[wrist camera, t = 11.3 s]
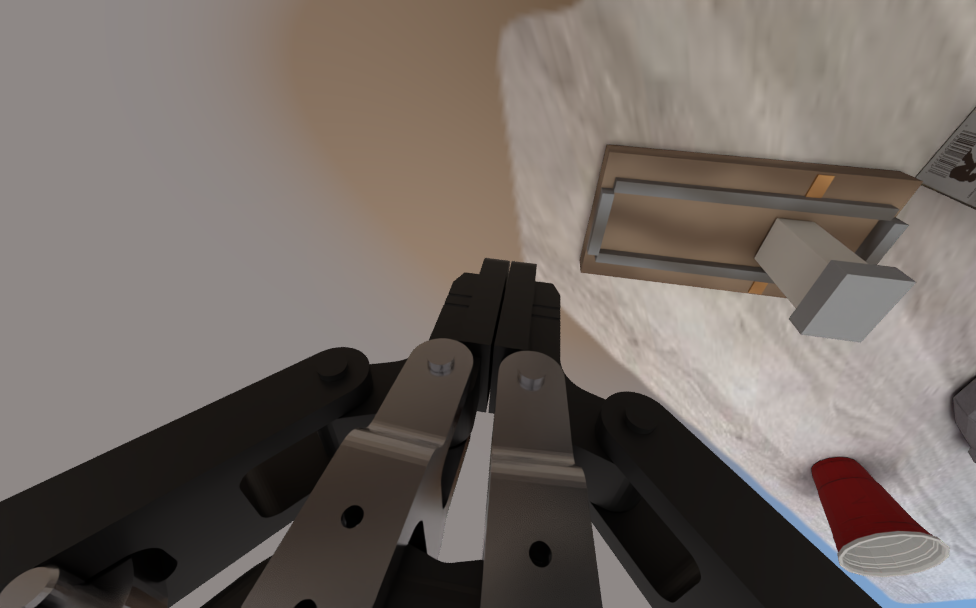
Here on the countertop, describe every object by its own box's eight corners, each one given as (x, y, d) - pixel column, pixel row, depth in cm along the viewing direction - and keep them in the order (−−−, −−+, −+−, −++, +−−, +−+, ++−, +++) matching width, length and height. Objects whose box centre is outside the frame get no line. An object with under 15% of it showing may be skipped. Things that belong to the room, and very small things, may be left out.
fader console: (606, 144, 33) (611, 157, 30) (900, 171, 31) (939, 188, 27) (579, 260, 40) (581, 280, 37) (814, 288, 38) (837, 312, 35)
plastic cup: (903, 465, 51) (980, 564, 42) (827, 493, 58) (879, 584, 48) (846, 436, 50) (912, 532, 40) (774, 468, 56) (817, 558, 47)
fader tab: (774, 211, 31) (847, 274, 23) (824, 216, 31) (916, 282, 23) (745, 263, 34) (800, 334, 26) (790, 268, 34) (860, 342, 26)
